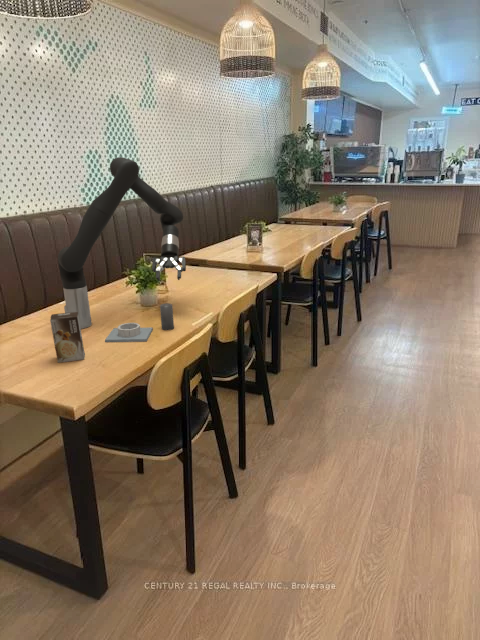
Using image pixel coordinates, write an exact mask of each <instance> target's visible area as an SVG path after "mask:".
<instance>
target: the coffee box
mask: <svg viewBox="0 0 480 640" xmlns="http://www.w3.org/2000/svg"><path fill="white" fill-rule="evenodd" d="M49 322H50V327H51V332H52V338H53V343H54V345H53V346H54V349H55V356H56V360H57V364H59V363H67V362H74V361H83V360H85V358H86V357H85V356H86V353H85V348H84V343H83V342H84V341H83V340H84V339H83V335H82V329H81V328H80V321H79V315H78V312H71V313H65V312H63V313H54V314H53V313H52V314H51V315H50V319H49Z"/></svg>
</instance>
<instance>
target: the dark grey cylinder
mask: <svg viewBox="0 0 480 640" xmlns="http://www.w3.org/2000/svg"><path fill="white" fill-rule="evenodd" d="M159 311H160V312H159V313H160V322H161V323H160V324H161V330H162V331H171V330H174V329H175V323H174V311H173V303H168V302H167V303H166V302H165V303H162V304H159Z"/></svg>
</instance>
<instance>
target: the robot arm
mask: <svg viewBox="0 0 480 640" xmlns="http://www.w3.org/2000/svg"><path fill="white" fill-rule="evenodd" d="M109 172H110V173H111V176H112V177H113V179H112V181H111V182H110V184H109V186H107V188H106V189H104V190H103V191H102V192H101V193H100V194H99V195H98V196H96V197H95V198H94V199H93V200H92V201H91V203H90V205H89V207H88V208H87V209H86V211H85V213H84V215H83V217H82V219H81V222H80V225H79V228H78V231H77V234H76V236H75V238H74V239H73V241H72V242H71V244H70V245H69V246H65V247H63V248H62V249H60V250H59V252H58V255H57V263H58V268H59V270H58V271H59V274H60V280H61V284H62V288H63V295H64V302H65V305H64V306H63V308H64V313H71V312H78V315H79V321H80V328H81V330H82V329H85V328H86V329H87V328H88V327H92V323H93V322H92V317H91V316H92V315H91V309H90V301H89V300H90V299H89V292H88V286H87V280H86V277H85V276H86V275H85V272H84V266H85V263H86V261H87V259H88V257H89V254H90V252H91V250H92V248H93V247H94V245H95V243H96V242H97V240H98V239H99V237H100V236H101V234H102V233H103V231H104V230H105V228H106V226H107V225H108V223H109V222H110V220H111V219H112V216H113V215H114V213H115V211H116V210H117V208H118V206H119V205H120V203H121V202H122V200H123V198H124V197H125V196H126V194H127V193H128V191H129V190H131V191H133V193H135V194H136V195H137V196H138V197H139V198H140V199H141V200H142V201H143V202H145V204H146V205H147V206H148V208H150V209H152V211H153V212H154V213H155V214H159V215H160V216H159V221H160V225H161V229H162V240H161V248H160V251H161V252H160V258H156V257H153V258H152V266H151V269H152V272H153V273H155V278H156V280H157V281H161V273H162V271H164V269H175V270H177V275H176V278H177V280H178V281H180V279H182V273H183V272H186V271H187V270H186V269H187V266H186V265H187V264H186V257H185V256H182V257H179V250H180V249H179V248H180V242H179V234H180V233H179V231H180V230H179V228H178V227H177V226H176V225H177V224H180V223H181V222H182V221H183V219H184V214H183V212H182V210H181V209H180V208H179V207H178V206H176V204H173V203H171V202H169V201H168V200H166V199H165V198H164V197H163V196H162V195H161V194H160V193H159V192H158V191H157V190H156V189H154V187H151V185H149V184H148V183H146V181H144V180H143V179H142V178H141V177H140V176H139V175H140V167H139V165H138V163H137V162H136V161H134V160H132V159H129V158H126V157H122V156H119V157H115V158H113V159H112V161H111V162H110V164H109ZM178 263H181V266H182V267H180V265H179V264H178ZM157 265H158V266H157Z"/></svg>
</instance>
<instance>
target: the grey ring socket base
mask: <svg viewBox="0 0 480 640" xmlns="http://www.w3.org/2000/svg"><path fill="white" fill-rule="evenodd" d="M153 330H154V328H153V327H151V326H149V327H141V325H140V324H139V323H137V322H127V323H122V324H119V325H118V326H117V327H114V328H113V329H112V330H111V331H110V332H109V334H108V335H107V336H106V338H105V339H104V342H105V343H131V342H133V343H136V342H137V343H138V342H140V343H142V342H143V343H144V342H148V340H149V339H150V336H151V334H152V332H153Z"/></svg>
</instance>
